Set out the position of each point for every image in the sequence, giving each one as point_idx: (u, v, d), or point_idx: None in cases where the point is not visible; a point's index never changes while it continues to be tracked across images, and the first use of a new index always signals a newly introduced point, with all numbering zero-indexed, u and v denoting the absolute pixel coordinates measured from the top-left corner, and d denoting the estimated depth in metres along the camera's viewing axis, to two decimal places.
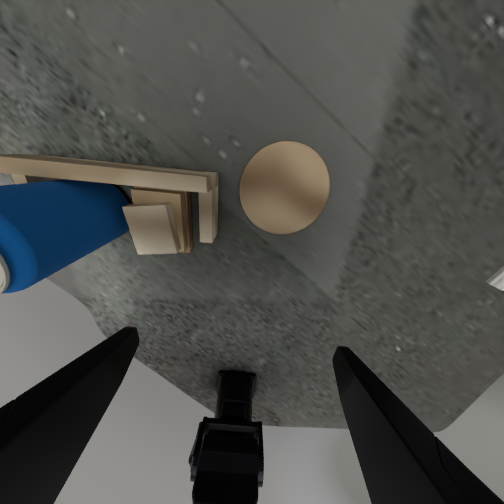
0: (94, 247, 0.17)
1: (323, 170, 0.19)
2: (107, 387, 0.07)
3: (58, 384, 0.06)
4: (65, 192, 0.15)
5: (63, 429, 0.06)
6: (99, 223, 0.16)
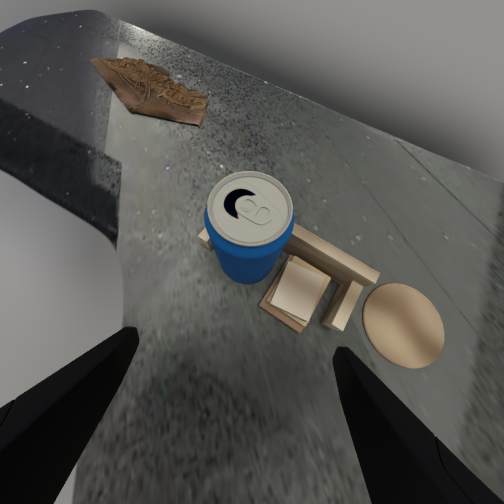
0: (259, 272, 0.18)
1: (439, 322, 0.22)
2: (107, 387, 0.07)
3: (58, 384, 0.06)
4: None
5: (63, 429, 0.06)
6: None
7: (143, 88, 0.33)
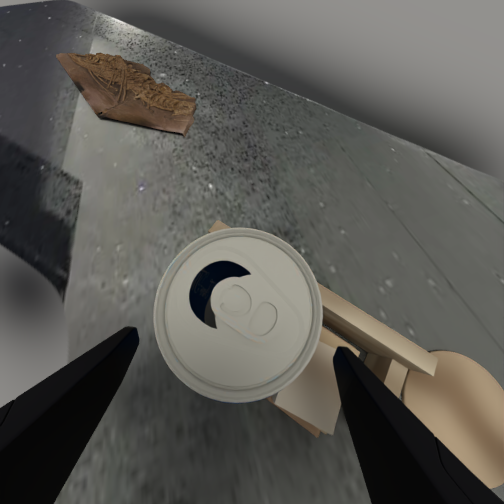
0: None
1: None
2: (107, 387, 0.07)
3: (58, 384, 0.06)
4: None
5: (63, 429, 0.06)
6: None
7: (117, 88, 0.27)
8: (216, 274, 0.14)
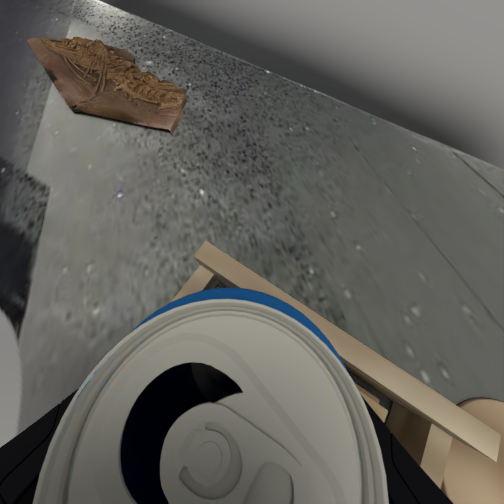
0: None
1: None
2: None
3: None
4: None
5: None
6: None
7: (96, 78, 0.23)
8: None
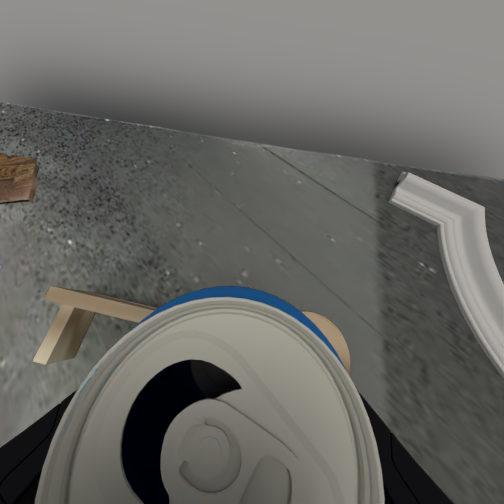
0: None
1: (341, 340, 0.21)
2: None
3: None
4: None
5: None
6: None
7: None
8: None
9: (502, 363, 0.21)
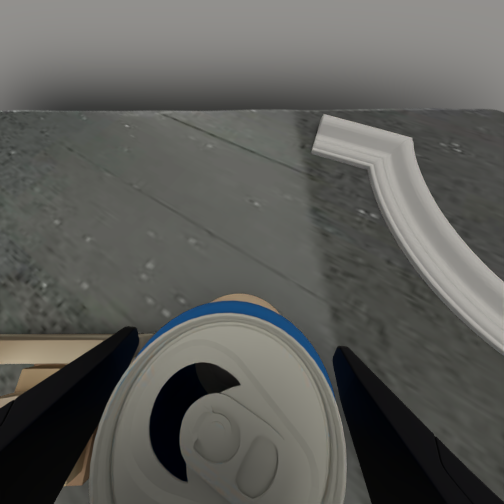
0: None
1: None
2: (107, 387, 0.07)
3: (58, 384, 0.06)
4: None
5: (63, 429, 0.06)
6: None
7: None
8: None
9: (459, 306, 0.17)
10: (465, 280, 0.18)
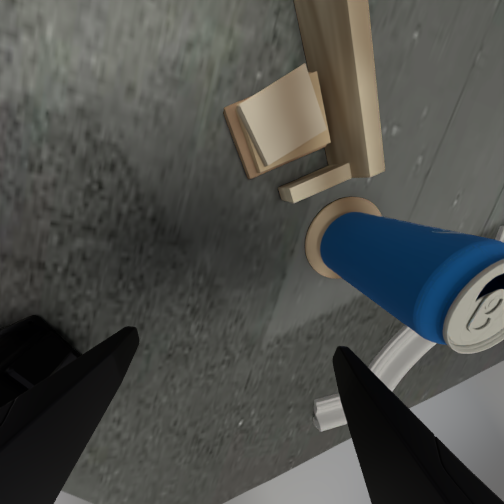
0: (357, 287, 0.16)
1: None
2: (107, 387, 0.07)
3: (57, 384, 0.06)
4: None
5: (63, 429, 0.06)
6: None
7: None
8: None
9: (390, 349, 0.28)
10: (406, 348, 0.28)
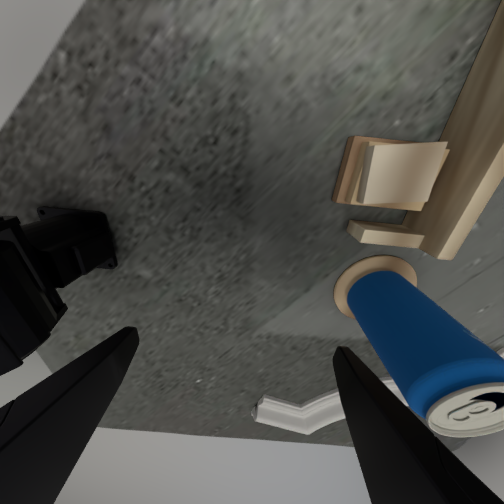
0: (369, 335, 0.18)
1: None
2: (107, 387, 0.07)
3: (58, 384, 0.06)
4: None
5: (63, 429, 0.06)
6: None
7: None
8: None
9: None
10: None
